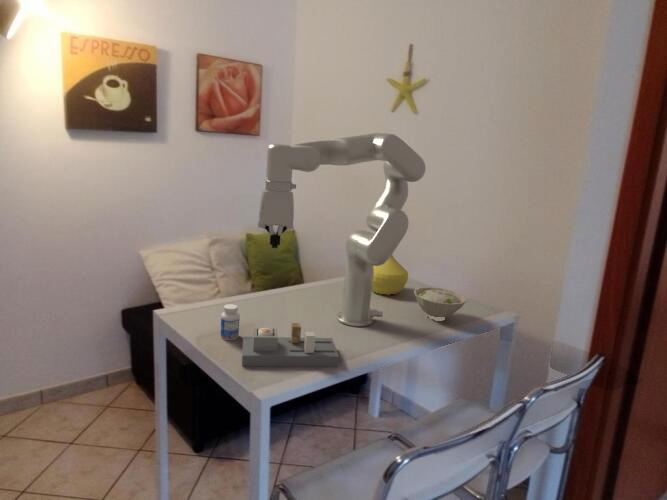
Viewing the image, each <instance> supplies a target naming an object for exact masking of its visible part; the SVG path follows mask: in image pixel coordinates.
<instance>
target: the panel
mask: <svg viewBox="0 0 667 500" xmlns="http://www.w3.org/2000/svg"><path fill="white" fill-rule="evenodd" d="M261 328H262V327H253V336H243V337H242V357H241V366H242V367H338V366H339V360H340V356H339V355H340V354H339V353H338V350H337V347H336V344H335V343H334V340H333V338H332V337H315V346H314V353H305V350H304V343H305V337H300V344H297V343H291V336H289V337H280V336H279V334H278V328H277V327H274V328H273V327H269V328H270V329H272V330H273V336H258V330H259V329H261ZM337 365H338V366H337Z"/></svg>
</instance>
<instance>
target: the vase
mask: <svg viewBox="0 0 667 500" xmlns="http://www.w3.org/2000/svg"><path fill="white" fill-rule="evenodd" d="M373 267H374V275H373V283H372V291H371V292H373V291H374V292H373V293H375V292H376V293H375V294H378V293H379V294H378V295H382V294H385V295H384V296H391V295H390V294H394V295H396V294H398V293H400V292H401V291H402V290H403V289H404V288H405V286H406V285H407V282H408V280H409V273H408V270H407V269H406V268H404V267H403V266H402V264H401V263H400V262H399V261H397V260H396V258H395V257H394V255H393V254H392V255H391V257H390V258H389V259H388V260H387V261H386V262H385V263H384V264H382V265H380V266H373ZM386 294H387V295H386Z"/></svg>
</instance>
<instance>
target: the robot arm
mask: <svg viewBox="0 0 667 500" xmlns="http://www.w3.org/2000/svg"><path fill="white" fill-rule="evenodd" d="M266 152H267V154H266V172H265V189H263V190H262V191H261V197H260V202H259V212H258V213H259V214H258V219H259V220H258V224H257V227H258V228H260V229H264V230H266V232H268V233H269V235H270V236H269V245H270V246H271V248H272V249H278V246H280V245H281V236H282V234H283V233H285V232H286V231H289V230H293V229H294V219H295V218H294V217H295V216H294V215H295V214H294V213H295V206H294V205H295V203H294V192H293V191H292V190H296V188H297V184H295V183H293V182H292V181H293V170H294V171H300V172H305V173H309V172H310V173H311V172H313V171H316V170H317V169H318V168H319V167H320V166H323V165H324V166H326V165H328V166H329V165H331V166H352V165H355V164H360V163H361V164H362V163H367V162H373V161H383V165H382V166H383V172H384V177H385V184H384V185H385V186H384V189H383V191H382V193H381V194H380V196H379V198H378V199H377V200H376V202H375V203H374V205H373V206H372V207H371V209H370V211H369V212H368V214H367V216H366V219H365V220H366V221H365V223H366V225H367V227H368V228H369V229H370V230H372V231H373V232H375V233H371V232H369V231H366V230H363V229H362V230H360V229H359V230H354V231H353V232H351V233H350V234H349V235H348V236H347V238H346V241H345V258H346V259H345V260H346V261H345V262H346V263H345V264H346V265H345V266H346V267H345V275H344V286H343V294H342V305H341V311H339V312H338V313H337V314H336V320H337V322H340V323H341V324H344V325H347V326H350V327H351V326H352V327H366V326H369V325H371V324H373V318H374V317H377V318H382V317H383V311H382V310H381V311H379V310H378V309H375V308H374V309H371V298H372V292H373V291H372V283H373V275H374V267H373V266H380V265H382V264H384V263H385V262H386V261H387V260H388V259H389V258H390V257H391V255H392V256H393V254H394V252H395V251H396V249H397V248H398V246H399V245H400V244H401V241H402V240H403V239H404V237H405V235H406V234H407V231H408V229H409V223H410V222H409V217H408V215H407V213H406V212H405V211H403V210H402V209H403V207H404V205H405V204H406V203H407V199H408V197H409V183H408V182H410V183H413V182H414V183H416V182H418V181H420V180H421V179H422V178H423V177H424V176H425V173H426V164H425V161H424V159H423V158H422V157H421V155H419V153H417V152H416V151H415V150H414V149H413V148H411V146H410V145H408V144H407V143H406V141H404V140H403V139H402V138H400V137H399V136H397V135H396V134H392V133H383V132H380V133H379V132H376V133H375V132H373V133H367V134H362V135H361V134H360V135H354V136H348V137H339V138H338V137H337V138H332V139H325V140H317V141H310V142H302V143H296V144H292V145H290V144H289V145H288V144H281V143H272V144H269V145H268V147H267V151H266ZM274 226H277V231H276V233H275V231H274Z"/></svg>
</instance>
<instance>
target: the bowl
mask: <svg viewBox="0 0 667 500" xmlns="http://www.w3.org/2000/svg"><path fill="white" fill-rule="evenodd" d="M413 293H414V297H415V299H416V301H417V304H418V306H419V307H420V308H421V310H422V311H423V312H424V313H426V314H427V315H430V316H434V317H446V318H448V317H451V316H452V315H454V314H455V313H457V311H459V310H460V309H462V308H463V306H464V305H465V304H466V302H467V300H468V299H467V298H466V297H465V295H463V294H461V293H459V292H457V291H454V290H451V289H450V290H449V289H447V288H442V287H441V288H440V287H433V286H424V287H418V288H415V289H414V290H413Z"/></svg>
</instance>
